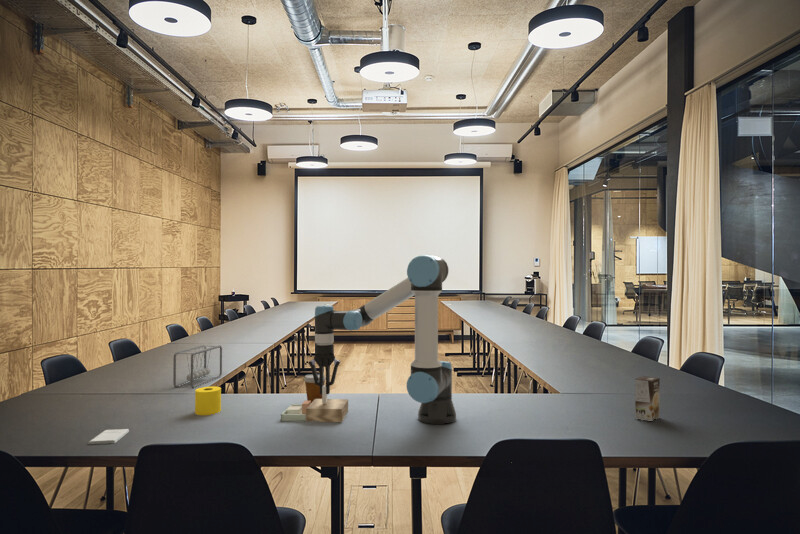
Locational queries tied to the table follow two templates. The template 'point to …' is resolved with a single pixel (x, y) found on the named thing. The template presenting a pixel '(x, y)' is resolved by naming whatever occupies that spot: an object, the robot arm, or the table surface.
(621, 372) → the table surface
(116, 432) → the external hard drive
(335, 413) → the tan wooden flat block
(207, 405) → the yellow toilet paper roll
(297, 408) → the cream tile
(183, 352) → the newton's cradle
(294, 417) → the tray
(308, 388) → the disposable coffee cup
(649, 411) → the coffee box
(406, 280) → the robot arm
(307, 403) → the terracotta tile
